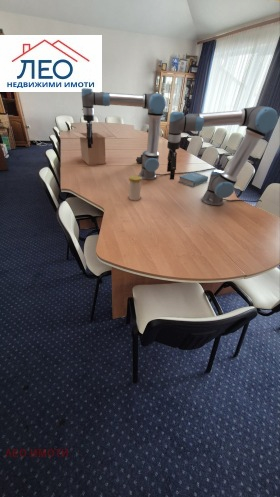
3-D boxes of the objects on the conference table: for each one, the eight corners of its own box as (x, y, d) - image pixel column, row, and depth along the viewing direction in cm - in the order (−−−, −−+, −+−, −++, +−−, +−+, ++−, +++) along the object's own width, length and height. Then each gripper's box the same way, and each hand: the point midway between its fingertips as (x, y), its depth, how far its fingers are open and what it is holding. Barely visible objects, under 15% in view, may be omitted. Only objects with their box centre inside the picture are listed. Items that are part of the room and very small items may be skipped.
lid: (127, 181, 155) (127, 178, 154) (130, 177, 163) (131, 174, 161) (139, 183, 154) (139, 180, 153) (142, 179, 161) (142, 176, 160)
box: (116, 165, 229) (116, 136, 213) (83, 168, 214) (80, 137, 198) (102, 154, 259) (101, 128, 243) (71, 156, 244) (68, 129, 228)
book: (192, 177, 214) (193, 171, 211) (207, 182, 205) (208, 176, 202) (178, 181, 200) (179, 176, 197) (193, 187, 192) (194, 181, 189)
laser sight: (155, 166, 235) (156, 156, 229) (135, 163, 238) (135, 154, 232) (156, 163, 243) (157, 154, 237) (137, 161, 246) (137, 151, 240)
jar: (127, 199, 164) (128, 179, 155) (130, 195, 170) (131, 175, 161) (138, 201, 162) (139, 180, 153) (141, 196, 169) (142, 177, 160)
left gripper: (84, 112, 170) (87, 142, 182) (81, 116, 150) (84, 149, 163) (94, 112, 171) (96, 142, 183) (92, 116, 151) (94, 149, 163)
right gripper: (165, 136, 144) (162, 168, 158) (170, 147, 125) (167, 183, 139) (176, 136, 144) (172, 168, 158) (183, 147, 125) (179, 183, 139)
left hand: (90, 146), depth 173 cm, fingers open, 13 cm apart
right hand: (170, 175), depth 148 cm, fingers open, 13 cm apart
